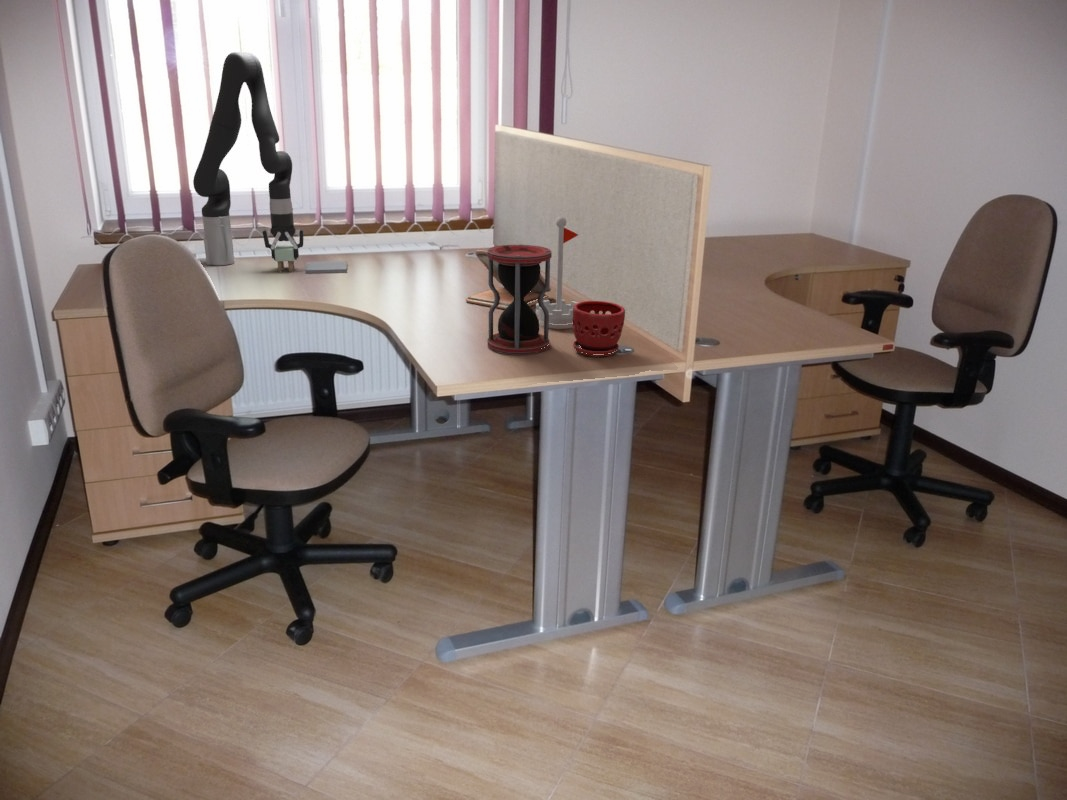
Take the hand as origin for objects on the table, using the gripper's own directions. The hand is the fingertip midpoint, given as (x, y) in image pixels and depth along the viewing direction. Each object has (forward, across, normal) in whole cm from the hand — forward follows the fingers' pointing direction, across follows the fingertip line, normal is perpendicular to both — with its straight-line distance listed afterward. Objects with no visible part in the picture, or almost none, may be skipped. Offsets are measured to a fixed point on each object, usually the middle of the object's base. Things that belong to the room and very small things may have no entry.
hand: (285, 259), depth 302 cm
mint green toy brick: (+4, 0, 0) cm, 4 cm away
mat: (+4, +14, 0) cm, 14 cm away
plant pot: (+4, +85, -109) cm, 138 cm away
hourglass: (+4, +66, -101) cm, 121 cm away
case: (+4, +71, -53) cm, 89 cm away
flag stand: (+4, +81, -81) cm, 115 cm away
